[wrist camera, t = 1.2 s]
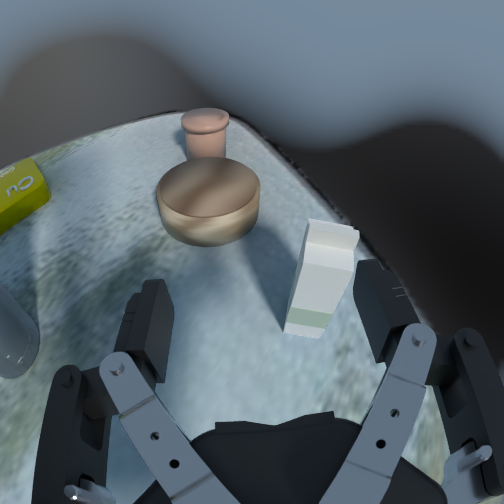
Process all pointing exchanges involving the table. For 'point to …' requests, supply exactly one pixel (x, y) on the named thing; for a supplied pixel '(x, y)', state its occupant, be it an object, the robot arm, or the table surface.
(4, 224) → the element tile
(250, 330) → the table surface
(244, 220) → the oak podium
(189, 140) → the terracotta pot
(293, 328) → the carton
